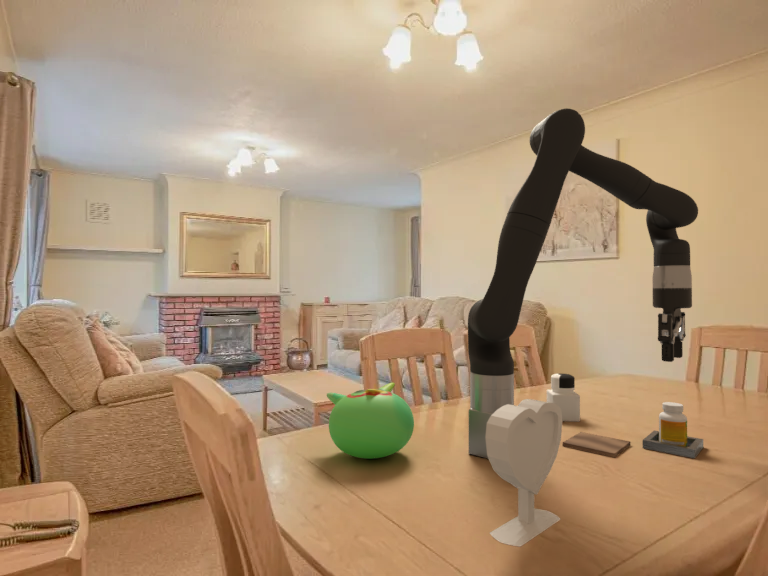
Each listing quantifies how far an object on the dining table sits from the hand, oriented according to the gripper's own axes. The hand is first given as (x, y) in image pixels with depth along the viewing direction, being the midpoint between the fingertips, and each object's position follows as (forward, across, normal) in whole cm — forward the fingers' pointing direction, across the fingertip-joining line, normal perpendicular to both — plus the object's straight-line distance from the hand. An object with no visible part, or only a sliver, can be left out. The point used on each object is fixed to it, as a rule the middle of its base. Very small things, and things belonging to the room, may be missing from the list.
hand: (672, 359), depth 106 cm
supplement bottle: (+20, 0, 0) cm, 20 cm away
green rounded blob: (+20, -49, +46) cm, 70 cm away
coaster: (+20, -10, +13) cm, 26 cm away
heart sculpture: (+20, -55, +8) cm, 59 cm away
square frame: (+20, 0, 0) cm, 20 cm away
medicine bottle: (+20, +8, +28) cm, 35 cm away
